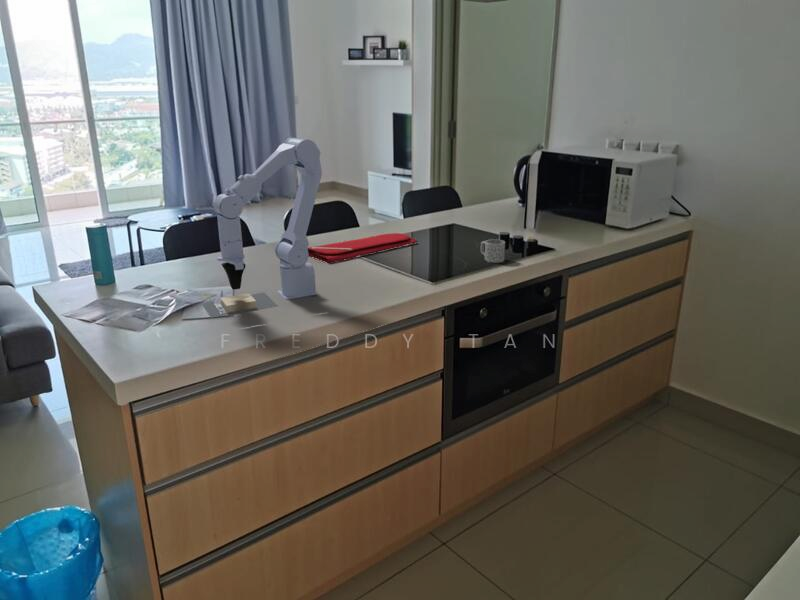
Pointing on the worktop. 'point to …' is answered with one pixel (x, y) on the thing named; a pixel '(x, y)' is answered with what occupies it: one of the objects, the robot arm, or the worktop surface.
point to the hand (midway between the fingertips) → (235, 288)
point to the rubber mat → (261, 303)
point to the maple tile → (238, 303)
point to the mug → (493, 250)
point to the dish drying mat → (358, 247)
